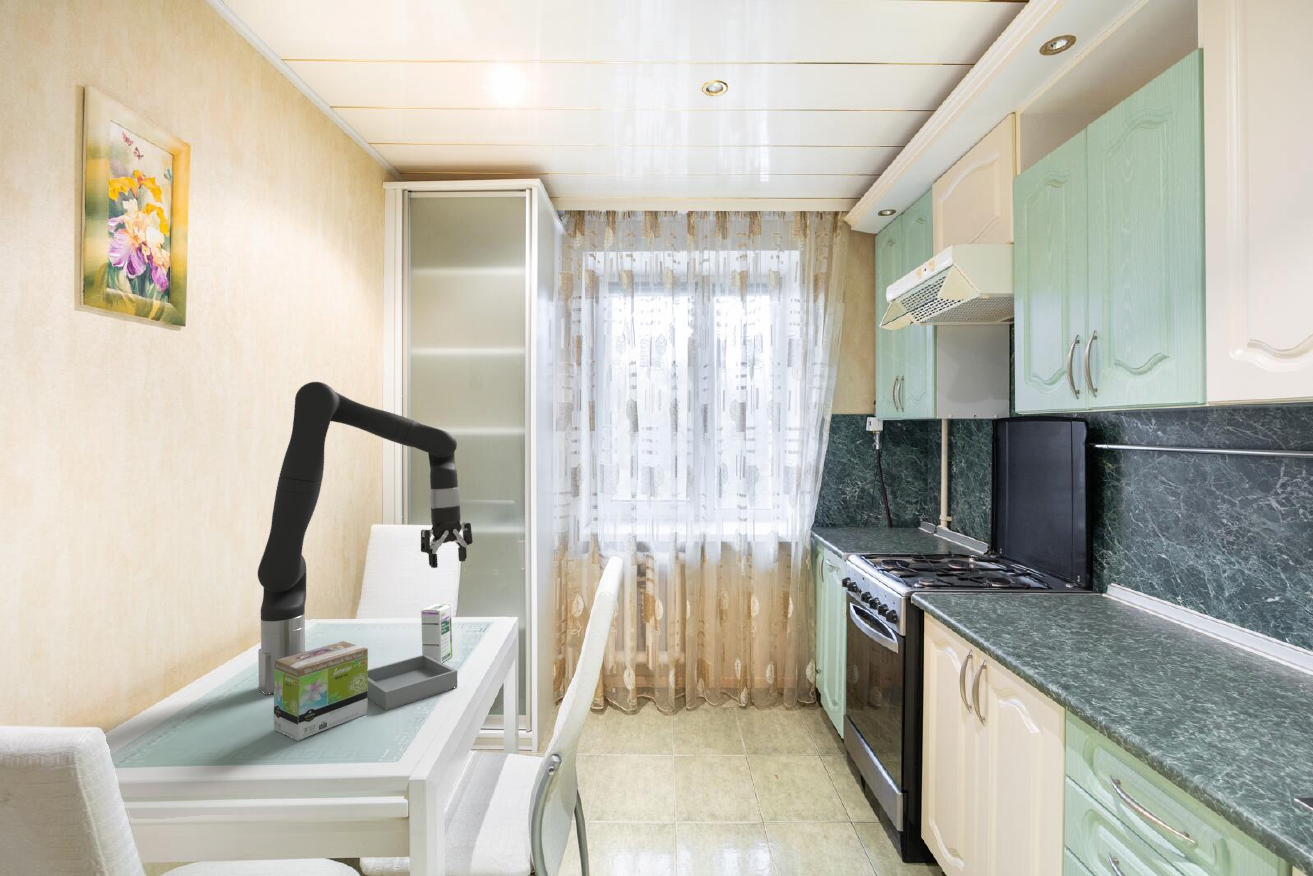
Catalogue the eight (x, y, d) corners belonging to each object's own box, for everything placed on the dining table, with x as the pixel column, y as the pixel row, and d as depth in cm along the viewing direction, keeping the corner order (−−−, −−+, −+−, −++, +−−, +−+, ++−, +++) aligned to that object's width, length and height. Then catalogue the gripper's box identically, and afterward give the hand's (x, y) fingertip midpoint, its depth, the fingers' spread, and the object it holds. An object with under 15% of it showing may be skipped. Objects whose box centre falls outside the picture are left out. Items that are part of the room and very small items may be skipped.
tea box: (298, 743, 120) (298, 668, 120) (272, 731, 126) (272, 659, 126) (369, 714, 133) (368, 646, 133) (343, 704, 138) (342, 639, 138)
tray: (386, 710, 134) (385, 692, 134) (356, 689, 146) (356, 673, 146) (457, 687, 147) (457, 670, 147) (425, 669, 158) (425, 654, 158)
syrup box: (441, 664, 162) (440, 610, 162) (421, 663, 163) (420, 609, 163) (452, 657, 168) (452, 604, 168) (433, 656, 169) (432, 603, 169)
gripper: (460, 501, 172) (463, 558, 173) (413, 507, 161) (416, 568, 161) (475, 502, 168) (479, 560, 168) (428, 508, 157) (432, 571, 157)
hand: (448, 564), depth 165 cm, fingers open, 8 cm apart
